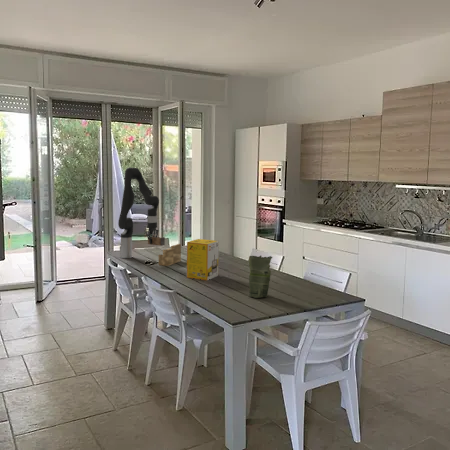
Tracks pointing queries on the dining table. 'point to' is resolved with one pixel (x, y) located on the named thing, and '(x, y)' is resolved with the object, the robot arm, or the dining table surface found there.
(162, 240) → the brown rectangular block
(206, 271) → the packaging box
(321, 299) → the dining table surface
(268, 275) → the green vase
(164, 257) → the light wood notched block
